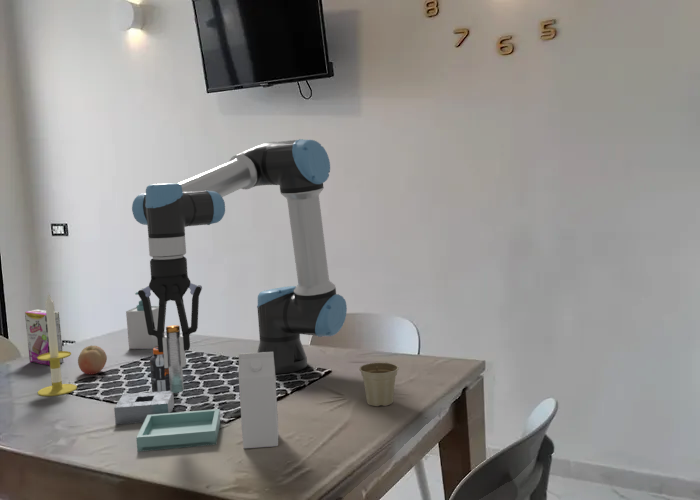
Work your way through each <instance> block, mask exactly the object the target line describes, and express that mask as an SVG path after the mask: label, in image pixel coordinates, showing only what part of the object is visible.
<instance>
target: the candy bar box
mask: <svg viewBox="0 0 700 500" xmlns="http://www.w3.org/2000/svg"><path fill="white" fill-rule="evenodd" d="M24 315H25V316H24V317H25V318H24V319H25V327H26V338H27V347H28V356H29V357H28V358H29V362H30V363H34V364H39V365H45V366H49V367H50V361H42V360H38V358H37V357H38V356H39V355H42V354H45V353H49V352H50V350H49V339H48V328H47V317H46V309H33V310H27V311H25V312H24ZM55 321H56V332H57V343H58V351H63V342H62V331H61V320H60V312H59V311H55ZM62 363H64V358H63V359H60V364H62Z"/></svg>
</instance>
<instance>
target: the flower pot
mask: <svg viewBox="0 0 700 500" xmlns="http://www.w3.org/2000/svg"><path fill="white" fill-rule="evenodd" d="M399 368H400V367H399V365H397V364H395V363H390V362H371V363H365V364H363V365H361V366H360V367H358V369H359V371H360V372H361V376H362V379H363V384H364V385H363V386H364V391H365V397H366V402H367V405H370V406H374V407H379V406H383V407H385V406H389V405H392V404H393V402H394V395H395V394H394V393H395V385H396V376H397V374H398V371H399V370H400V369H399Z"/></svg>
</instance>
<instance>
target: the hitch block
mask: <svg viewBox="0 0 700 500" xmlns="http://www.w3.org/2000/svg"><path fill="white" fill-rule="evenodd" d="M174 398H175V397H174V393H172V392H170V391H162V392H155V391H153V392H151V391H150V392H140V393H139V392H138V393H126V394H121V397H120V398H119V400H118V401H117V403H116V404H115V406H114V407H113V410H114V421H115V425H117V426H118V425H129V424H139V423H141V424H143V423H144V421H145V419H146V417H147V415H152V414H164V413H173V412H174V411H173V410H174V409H173V408H175V399H174Z"/></svg>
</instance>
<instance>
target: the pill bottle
mask: <svg viewBox="0 0 700 500" xmlns="http://www.w3.org/2000/svg"><path fill="white" fill-rule="evenodd" d="M152 354H153V355H152V356H151V357H150V359H149V363H150V364H149V366H150V378H151V379H150V380H151V382H150V384H151V390H152V391H153V392H162V391H170V378H169V367H168V368H164V353H163V352H159V351H158V346H157V347H155V348H153V349H152Z"/></svg>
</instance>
